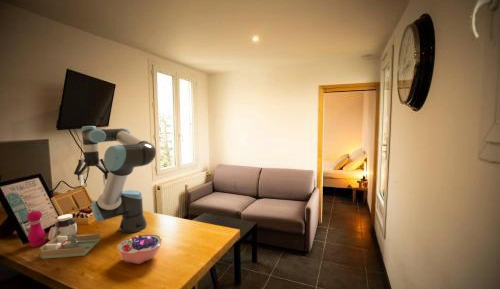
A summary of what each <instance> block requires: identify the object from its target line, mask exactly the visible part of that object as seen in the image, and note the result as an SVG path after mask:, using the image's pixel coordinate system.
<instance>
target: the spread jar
mask: <svg viewBox="0 0 500 289" xmlns="http://www.w3.org/2000/svg"><path fill="white" fill-rule="evenodd" d="M70 219H74V217H73V214H72V213H66V214H63V215H59V216H57V221H56V222H55V224H54V226H52V227H50V229H49V232H48V236H47V237H48V240H49V241H51V240H52V239H54V238H55V237H56V236H58V235H59V234H62V236H70V229H69V224H68V221H69V220H70ZM75 230H76V232H78V228H77V221H76V220H75Z"/></svg>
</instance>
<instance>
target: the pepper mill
mask: <svg viewBox="0 0 500 289" xmlns="http://www.w3.org/2000/svg"><path fill="white" fill-rule="evenodd" d="M42 217H43V213H42V212H41V211H40V210H37V209H36V208H35V207H34V208H32V209H31V212H29V213H28V214H27V215H26V219H27V221H28V224H29V225H30V230H29V232H28V235H27V240H28V242H29V247H31V248H36V247H41V246H43V245H45V244H46V238H45V237H46V232H45V230H44V229H43V227H42V224H41V222H42Z"/></svg>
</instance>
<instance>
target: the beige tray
mask: <svg viewBox="0 0 500 289" xmlns="http://www.w3.org/2000/svg"><path fill="white" fill-rule="evenodd" d="M65 240H68V241H71V239H70V236H62V234H59V235H58V236H57V235H55V236H54V238H53V239H52V240H49V241H48V242H45V243H44V244H43V245H41V246H40V247H39V248H38V250H39V251H38V252H39V259H41V260H42V259H43V260H44V259H54V258H55V259H56V258H68V257H69V258H70V257H78V256H79V257H80V256H81V257H82V256H86V255H87V254H88V252H89V253H90V251H91V250H92V249H93V248H94V247H96V245H97V244H98V243H99V242H100V241H101V235H100V233H94V234H93V233H91V234H90V233H89V234H80V235H79V234H76V240H77V241H79V240H80V245H78V246H77V247H73V248H63V249H57V243H63V242H64V241H65Z"/></svg>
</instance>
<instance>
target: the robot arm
mask: <svg viewBox="0 0 500 289" xmlns="http://www.w3.org/2000/svg"><path fill="white" fill-rule="evenodd" d="M81 136H82V137H81V138H82V146H83V147H82V148H83V149H82V151H83V158H84V159H83V158H79V159H78V164H77V165H76V167H75V170H74V172H73V175H76V176H77V181H79V186H80V187H82V186H85V183H84V182H85V181H84V180H85V179H84V174H83V173H84V172H85V170H86V169H87V168H88V167H96V168H97V169H99V170H100V171H101V173H103V174H102V179H103V186H104V187H103V188H104V189H103V192H102V194H100V195H99V196H98V198H97V200H94V201H92V202H91V212H92V215H93V218H94V219H95V221H96V222H104V221H107V220H110V219H113V218H117V217H120V216H121V220H120V223H119V227H118V228H119V232H121V233H122V234H131V233H137V232H140V231H143V230H144V229H145V228H146V227H147V225H148V224H147V223H148V222H147V219H146V218H145V215H144V209H143V208H144V207H143V206H144V205H143V196H142V192H141V191H139V190H133V189H132V190H131V189H130V190H123V189H124V187H125V185H126V181H127V179H128V176H129V175H131V174H132V173H133V171H134V169H135V168H138V167H144V166H147V165H149V164H151V163H152V162H153V161H154V160H155V158H156V155H157V150H156V147H155V146H154V144H153V143H151V142H150V141H148V140H141V138H138V137H136V136H134V135H132V134H131V132H130V131H129V129H128V128H123V127H122V128H105V129H104V128H103V129H99V128H98V129H97V126H96V125H86V126H85V125H84V126H82V127H81ZM106 142H107V143H108V142H118V143H119V144H116V145H110V146H109V147H107V148H106V150H105V151H104V152H105V153H104V156H103V158H100V157H99V156H100V152H99V144H100V143H106ZM98 143H99V144H98ZM83 163H85V164H83Z"/></svg>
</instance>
